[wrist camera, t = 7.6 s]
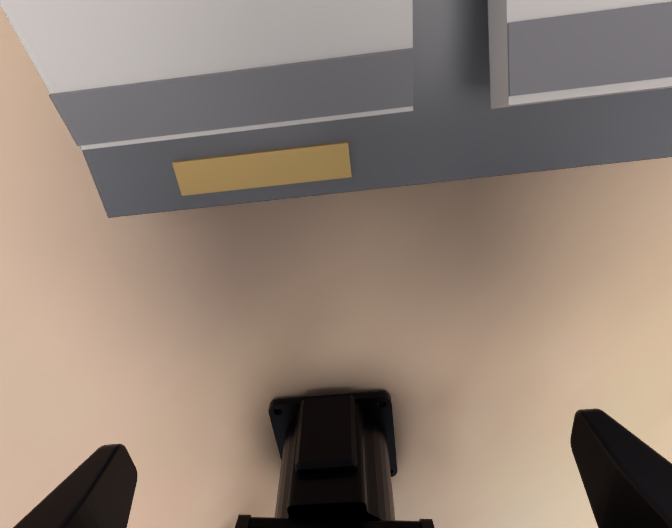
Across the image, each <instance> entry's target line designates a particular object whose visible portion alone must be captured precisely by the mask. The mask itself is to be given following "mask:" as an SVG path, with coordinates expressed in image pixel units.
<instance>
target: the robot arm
mask: <svg viewBox="0 0 672 528" xmlns="http://www.w3.org/2000/svg"><path fill="white" fill-rule="evenodd" d="M381 400H383V401H382V402H380V401H381ZM277 408H278V409H277ZM279 409H280V410H279ZM269 415H270V419H271V423H272V427H273V430H274V434H275V438H276V442H277V445H278V449H279V453H280V457H281V461H282V463H281V471H280V479H279V487H278V495H277V503H276V511H275V518H266V517H251V515H239V516H238V519H237V523H236V526H235V528H434V524H433V521H432V519H420V520H419V521H395V513H394V503H393V493H392V483H391V477H393V476H395V475H396V474H397V462H396V451H395V439H394V427H393V416H392V404H391V397H390V395H389V394H388V393H387V392H383V391H378V392H366V393H353V394H340V395H328V396H315V397H303V398H290V399H277V400H273V401H272V402H271V403H270V406H269ZM571 448H572V452H573V455H574V458H575V461H576V464H577V467H578V470H579V472H580V475H581V478H582V481H583V484H584V487H585V490H586V493H587V496H588V499H589V502H590V505H591V508H592V511H593V514H594V517H595V519H596V522H597V525H598V528H672V463H670V462H669V461H668V460H666V459H665V458H664V457H662V456H661V455H660V454H658V453H657V452H656V451H655V450H653V449H652V448H651V447H649V446H648V445H647V444H645V443H644V442H643V441H641V440H640V439H639V438H638V437H636V436H635V435H634V434H632V433H631V432H630V431H628V430H627V429H626V428H624V427H623V426H622V425H621V424H619V423H618V422H617V421H615V420H614V419H613V418H611V417H610V416H609V415H607V414H606V413H605V412H603V411H602V410H600V409H583V410H578V411H577V412H576V413H575V417H574V422H573V428H572V433H571ZM136 483H137V470H136V467H135V465H134V463H133V461H132V459H131V457H130V455H129V453H128V451H127V449H126V447H125V446H124V445H122V444H111V445H104V446H101V447H100V448H98V449H97V450H96V451H95V452H94V453H93V454H92V455H91V456H90V457H89V458H88V459H87V460H85V461H84V462H83V463H82V464H81V465H80V466H79V467H78V468H77V469H76V470H75V471H74V472H73V473H71V474H70V475H69V476H68V477H67V478H66V479H65V480H64V481H63V482H62V483H61V484H60V485H59V486H57V487H56V488H55V489H54V490H53V491H52V492H51V493H50V494H49V495H48V496H47V497H46V498H45V499H43V500H42V501H41V502H40V503H39V504H38V505H37V506H36V507H35V508H34V509H33V510H32V511H31V512H30V513H28V514H27V515H26V516H25V517H24V518H23V519H22V520H21V521H20V522H19V523H18V524H17V525H16V526H14V527H13V528H127V523H128V519H129V514H130V510H131V505H132V501H133V496H134V492H135V487H136Z"/></svg>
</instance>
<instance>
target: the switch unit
mask: <svg viewBox="0 0 672 528" xmlns="http://www.w3.org/2000/svg"><path fill="white" fill-rule="evenodd" d="M413 92H414V106H413V111H408V112H399V113H391V114H383V115H374V116H366V117H357V118H349V119H340V120H332V121H323V122H315V123H307V124H298V125H290V126H281V127H273V128H264V129H256V130H247V131H239V132H231V133H222V134H214V135H205V136H197V137H188V138H180V139H171V140H163V141H155V142H146V143H138V144H129V145H121V146H112V147H104V148H95V149H87V150H82V151H83V154H84V157H85V159H86V162H87V164H88V167H89V169H90V172H91V175H92V177H93V180H94V182H95V185H96V187H97V190H98V192H99V195H100V198H101V200H102V203H103V205H104V208H105V210H106V213H107V216H108V218H111V217H120V216H129V215H139V214H148V213H157V212H166V211H176V210H185V209H194V208H203V207H213V206H222V205H231V204H240V203H250V202H259V201H268V200H277V199H287V198H296V197H305V196H315V195H324V194H333V193H342V192H352V191H361V190H370V189H379V188H389V187H398V186H407V185H416V184H426V183H435V182H444V181H453V180H463V179H472V178H481V177H491V176H500V175H509V174H518V173H528V172H537V171H546V170H555V169H565V168H574V167H583V166H592V165H602V164H611V163H620V162H630V161H639V160H648V159H657V158H667V157H672V88H665V89H656V90H648V91H639V92H631V93H622V94H614V95H605V96H597V97H588V98H580V99H571V100H563V101H554V102H546V103H537V104H529V105H520V106H512V107H503V108H495V109H491V95H490V62H489V28H488V0H413Z"/></svg>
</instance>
